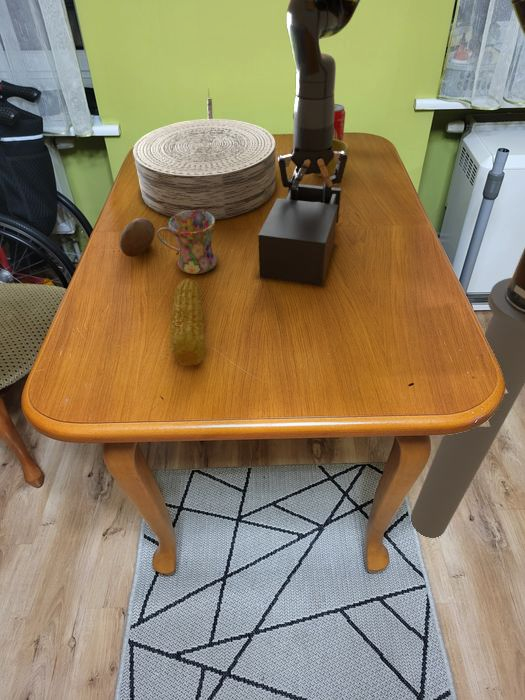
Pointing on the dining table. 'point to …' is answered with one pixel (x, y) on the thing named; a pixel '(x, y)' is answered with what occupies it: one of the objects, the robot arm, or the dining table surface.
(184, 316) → the food
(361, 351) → the dining table surface
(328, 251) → the dark grey cube
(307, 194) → the drawer
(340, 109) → the soda can
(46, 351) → the dining table surface
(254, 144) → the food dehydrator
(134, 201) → the dining table surface
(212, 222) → the mug
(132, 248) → the potato
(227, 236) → the dining table surface
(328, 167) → the flower pot
